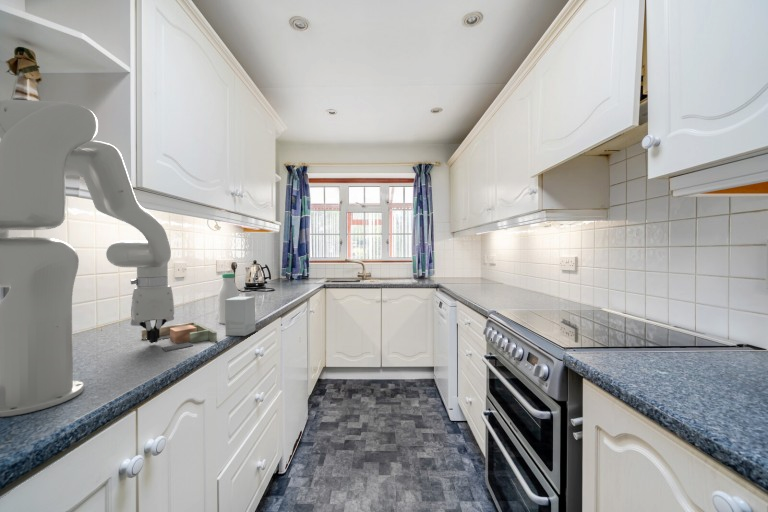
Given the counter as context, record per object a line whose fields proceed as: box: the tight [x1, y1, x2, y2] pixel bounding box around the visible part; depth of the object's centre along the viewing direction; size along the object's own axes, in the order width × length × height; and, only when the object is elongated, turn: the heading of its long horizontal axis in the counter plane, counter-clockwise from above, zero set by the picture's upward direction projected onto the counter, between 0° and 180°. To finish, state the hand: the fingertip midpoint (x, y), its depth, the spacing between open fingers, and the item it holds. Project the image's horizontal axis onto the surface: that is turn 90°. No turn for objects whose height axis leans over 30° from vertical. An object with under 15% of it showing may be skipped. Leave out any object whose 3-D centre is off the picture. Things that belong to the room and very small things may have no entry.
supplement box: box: [224, 296, 256, 337], centre depth 107 cm, size 7×7×13 cm
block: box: [169, 325, 197, 344], centre depth 99 cm, size 6×6×4 cm
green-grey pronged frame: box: [141, 321, 218, 344], centre depth 98 cm, size 16×22×3 cm
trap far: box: [157, 334, 170, 341], centre depth 101 cm, size 7×4×1 cm, turn 138°
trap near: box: [161, 341, 194, 353], centre depth 91 cm, size 7×4×1 cm, turn 138°
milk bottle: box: [217, 272, 240, 325], centre depth 124 cm, size 8×8×20 cm
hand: (153, 341), depth 93 cm, fingers closed
